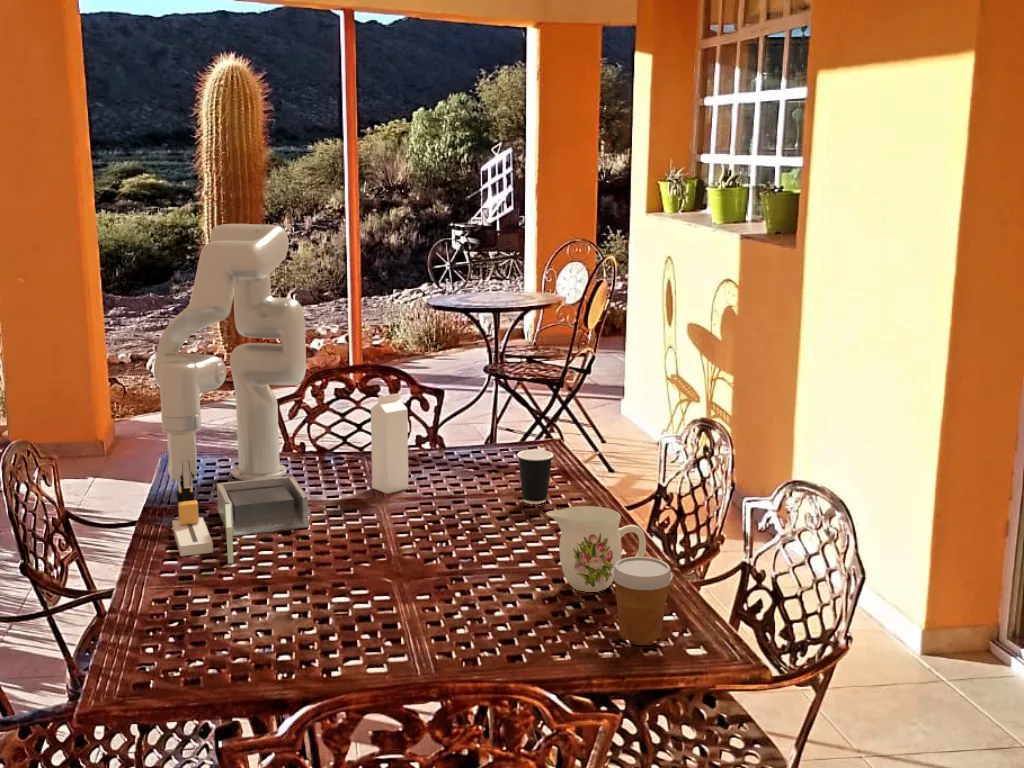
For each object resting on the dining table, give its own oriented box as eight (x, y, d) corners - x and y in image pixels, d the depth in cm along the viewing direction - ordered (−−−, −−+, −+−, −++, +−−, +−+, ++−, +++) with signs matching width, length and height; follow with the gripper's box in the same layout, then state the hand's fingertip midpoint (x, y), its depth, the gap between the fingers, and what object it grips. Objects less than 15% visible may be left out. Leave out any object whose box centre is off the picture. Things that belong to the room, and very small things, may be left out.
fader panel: (172, 529, 220) (172, 520, 219) (203, 526, 222) (202, 516, 222) (180, 556, 205) (180, 545, 205) (213, 552, 208) (212, 541, 207)
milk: (408, 489, 249) (408, 395, 244) (387, 494, 245) (386, 398, 240) (392, 483, 253) (392, 390, 249) (371, 488, 249) (370, 394, 245)
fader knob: (179, 521, 218) (178, 502, 217) (197, 519, 219) (196, 500, 219) (180, 524, 216) (179, 505, 215) (198, 522, 217) (198, 503, 217)
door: (232, 535, 216) (231, 500, 215) (234, 563, 201) (232, 526, 200) (225, 535, 216) (224, 501, 214) (226, 563, 201) (225, 526, 200)
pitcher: (652, 595, 189) (654, 520, 186) (549, 599, 187) (551, 523, 184) (637, 572, 199) (639, 500, 197) (540, 576, 197) (541, 503, 194)
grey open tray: (218, 512, 231) (216, 483, 229) (293, 504, 237) (292, 475, 235) (228, 536, 216) (227, 505, 215) (308, 527, 222) (307, 496, 221)
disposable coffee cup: (597, 637, 172) (599, 566, 170) (635, 620, 179) (637, 551, 176) (644, 657, 165) (647, 582, 163) (682, 638, 172) (685, 566, 170)
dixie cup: (559, 503, 239) (560, 455, 237) (531, 510, 234) (531, 461, 232) (537, 494, 245) (538, 447, 243) (509, 500, 241) (509, 452, 239)
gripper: (159, 416, 223) (163, 501, 227) (165, 432, 210) (170, 523, 213) (196, 413, 226) (200, 497, 230) (205, 429, 213) (209, 518, 216)
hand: (186, 509), depth 222 cm, fingers closed
